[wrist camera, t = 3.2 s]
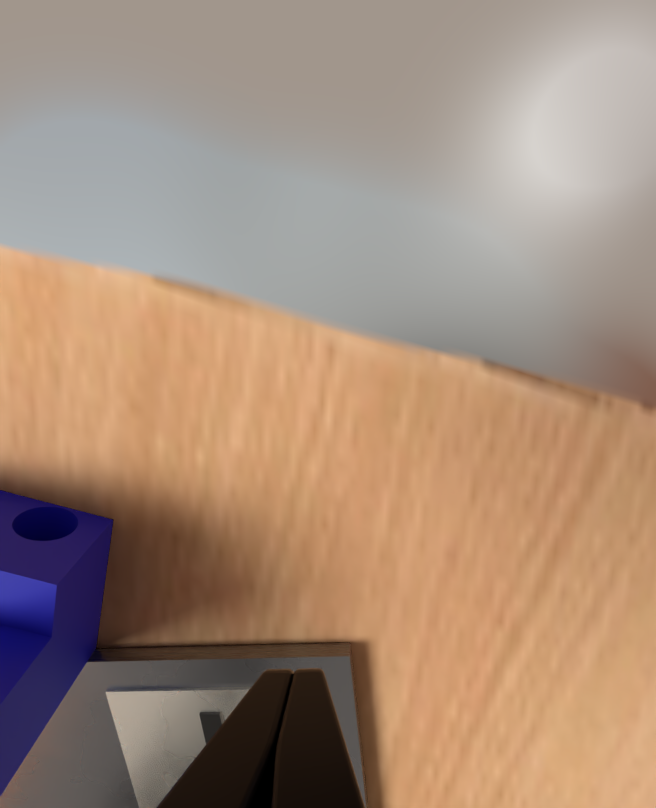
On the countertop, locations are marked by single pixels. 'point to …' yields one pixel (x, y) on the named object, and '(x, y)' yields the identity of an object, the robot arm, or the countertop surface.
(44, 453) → the countertop surface
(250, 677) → the plate
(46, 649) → the blue cradle bracket
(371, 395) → the countertop surface
